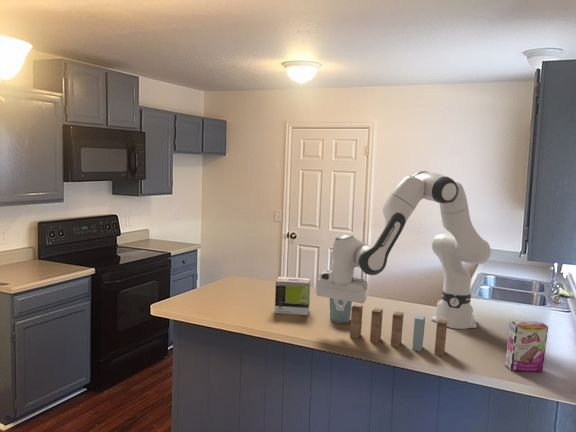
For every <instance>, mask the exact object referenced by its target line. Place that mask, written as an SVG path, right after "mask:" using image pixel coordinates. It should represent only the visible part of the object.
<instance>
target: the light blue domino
mask: <svg viewBox="0 0 576 432" xmlns="http://www.w3.org/2000/svg"><path fill="white" fill-rule="evenodd" d="M425 324H426V315H421V314H416V316H414V324H413V337H412V347H411V348H412V350H413V351H416V350H417V352H422V350H423V347H424V337H425V336H424V334H425Z"/></svg>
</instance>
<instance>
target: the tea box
mask: <svg viewBox="0 0 576 432" xmlns="http://www.w3.org/2000/svg"><path fill="white" fill-rule="evenodd" d="M274 294H275V297H274V298H275V299H274V314H284V315H299V316H309V311H310V300H311V299H310V298H311V278H308V277H307V278H306V277H304V278H303V277H291V276H290V277H288V276H278V278H277V279H276V281H275V292H274Z"/></svg>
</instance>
